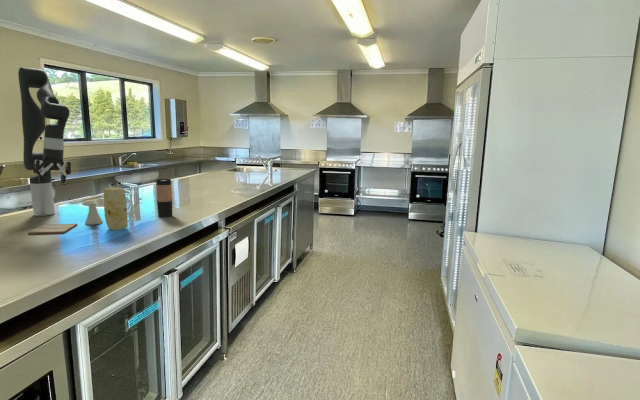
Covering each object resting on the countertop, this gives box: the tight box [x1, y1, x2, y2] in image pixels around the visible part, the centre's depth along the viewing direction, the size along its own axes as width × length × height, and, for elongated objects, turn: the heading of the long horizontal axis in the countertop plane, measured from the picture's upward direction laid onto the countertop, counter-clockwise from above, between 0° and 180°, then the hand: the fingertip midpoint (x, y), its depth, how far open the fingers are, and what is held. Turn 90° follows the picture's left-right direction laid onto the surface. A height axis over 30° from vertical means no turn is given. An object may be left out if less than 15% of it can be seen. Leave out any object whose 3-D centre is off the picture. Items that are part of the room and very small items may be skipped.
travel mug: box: [155, 178, 173, 218], centre depth 200 cm, size 8×8×20 cm
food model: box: [103, 186, 129, 232], centre depth 171 cm, size 10×7×20 cm
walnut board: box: [27, 223, 78, 236], centre depth 169 cm, size 14×14×1 cm
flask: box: [84, 202, 104, 226], centre depth 181 cm, size 7×7×10 cm
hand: (52, 183), depth 170 cm, fingers open, 8 cm apart
